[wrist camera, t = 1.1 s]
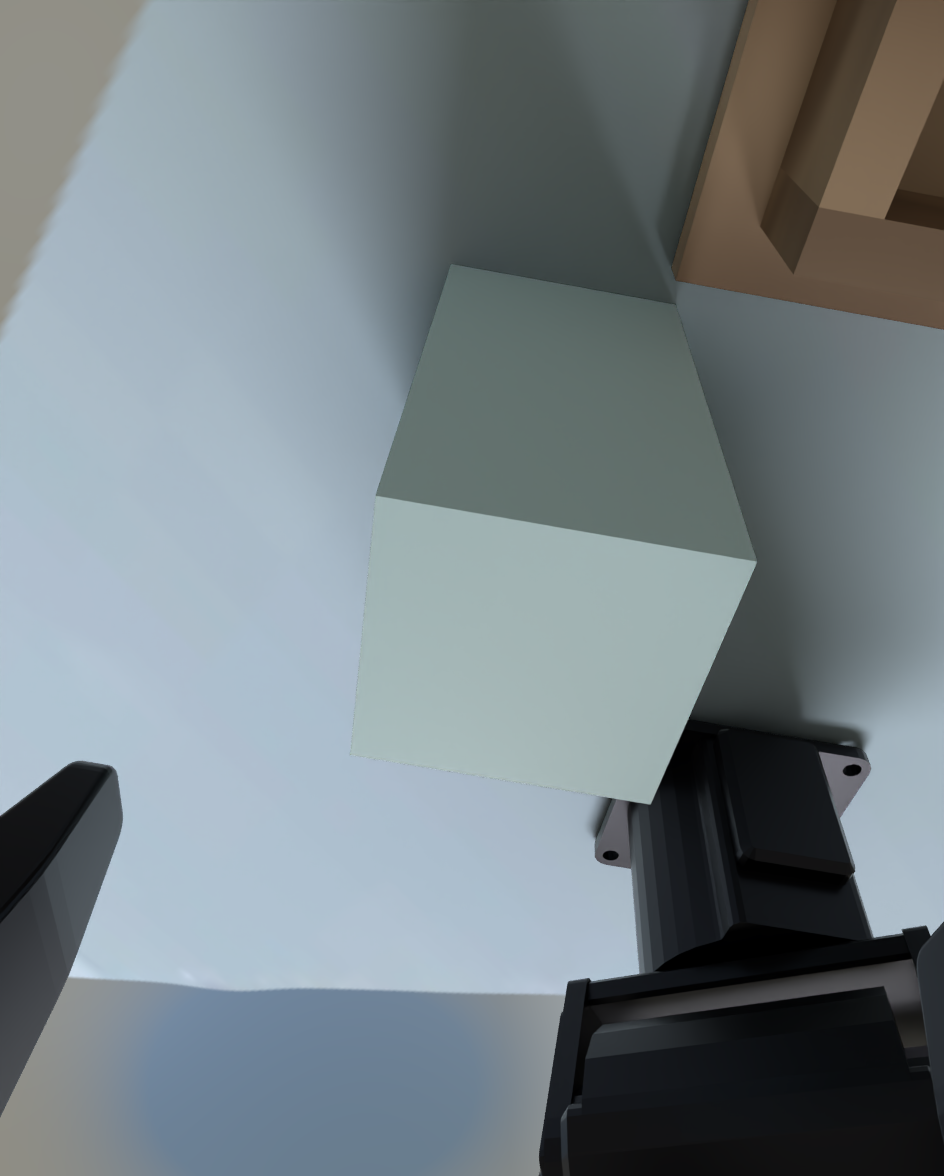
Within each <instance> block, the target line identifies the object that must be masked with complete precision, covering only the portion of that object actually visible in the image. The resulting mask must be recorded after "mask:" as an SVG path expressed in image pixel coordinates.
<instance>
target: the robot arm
mask: <svg viewBox="0 0 944 1176" xmlns="http://www.w3.org/2000/svg"><path fill="white" fill-rule="evenodd" d="M850 764H852V765H850ZM870 770H871V766H870V763H869V760H868V758H867V755H866V753H865V752H864V751H863V750H861V749H858V748H855V747H849V746H843V745H837V744H831V743H825V742H819V741H813V740H807V739H801V738H795V737H789V736H783V735H777V734H771V733H765V732H759V731H753V730H747V729H741V728H735V727H729V726H723V725H717V724H711V723H706V722H700V721H694V720H688V721H687V723H686V725H685V727H684V730H683V732H682V734H681V736H680V739H679V741H678V743H677V746H676V748H675V750H674V752H673V755H672V757H671V759H670V762H669V764H668V766H667V768H666V771H665V773H664V775H663V777H662V780H661V782H660V784H659V787H658V789H657V791H656V793H655V796H654V798H653V800H652V802H651V805H650V804H644V803H638V802H632V801H626V800H620V799H613V798H612V800H611V803H610V805H609V808H608V810H607V813H606V815H605V818H604V820H603V823H602V826H601V828H600V831H599V833H598V836H597V838H596V841H595V858H596V859H597V861H599V862H600V863H603V864H606V865H611V866H618V867H624V868H630V869H631V872H632V884H633V897H634V910H635V923H636V936H637V949H638V961H639V974H637V975H630V976H624V977H617V978H611V979H604V980H598V981H591V980H590V979H589V978H586V979H580V980H573V981H569V982H568V984H567V990H566V997H565V1003H564V1009H563V1012H562V1013H561V1016H560V1023H559V1029H558V1035H557V1042H556V1048H555V1055H554V1061H553V1067H552V1074H551V1081H550V1087H549V1093H548V1099H547V1106H546V1112H545V1119H544V1126H543V1131H542V1138H541V1145H540V1151H539V1162H540V1172H539V1176H944V922H943V923H942V924H941V925H940V927H939V928H938V929H937V930H936V931H935V932H934V933H933V934H932V936H930V933H929V931H928V928H927V926H919V927H913V928H907V929H902V932H903V933H902V934H895V935H889V936H882V937H876V938H874V937H873V934H872V931H871V928H870V925H869V921H868V918H867V915H866V912H865V909H864V905H863V902H862V899H861V896H860V893H859V890H858V886H857V883H856V880H855V877H854V872H855V865H854V862H853V858H852V855H851V852H850V849H849V846H848V843H847V840H846V836H845V833H844V830H843V827H842V824H841V821H840V817H841V816H842V814H843V813H844V811H845V810H846V808H847V807H848V805H849V804H850V802H851V800H852V799H853V797H854V796H855V794H856V793H857V791H858V790H859V788H860V787H861V785H862V784H863V782H864V781H865V779H866V778H867V776H868V775H869V773H870ZM122 822H123V812H122V805H121V797H120V790H119V783H118V776H117V772H116V770H115V769H114V768H113V767H112V766H109V765H104V764H98V763H93V762H87V761H76V762H72V763H70V764H68V765H67V766H65V767H64V768H63V769H61V770H60V771H59V772H58V773H56V774H55V775H54V776H52V777H51V778H50V779H48V780H47V781H46V782H44V783H43V784H42V785H40V786H39V787H38V788H36V789H35V790H34V791H33V792H31V793H30V794H29V795H27V796H26V797H25V798H23V799H22V800H21V801H19V802H18V803H17V804H15V805H14V806H13V807H11V808H10V809H9V810H7V811H6V812H5V813H4V814H2V815H1V816H0V1117H1V1114H2V1112H3V1110H4V1108H5V1106H6V1104H7V1102H8V1100H9V1098H10V1096H11V1094H12V1092H13V1090H14V1088H15V1086H16V1084H17V1082H18V1079H19V1078H20V1076H21V1074H22V1071H23V1069H24V1067H25V1065H26V1063H27V1061H28V1059H29V1057H30V1055H31V1053H32V1051H33V1049H34V1046H35V1045H36V1043H37V1041H38V1038H39V1037H40V1035H41V1033H42V1030H43V1028H44V1026H45V1024H46V1022H47V1020H48V1018H49V1016H50V1014H51V1012H52V1010H53V1008H54V1006H55V1004H56V1002H57V1000H58V997H59V995H60V993H61V991H62V989H63V987H64V985H65V982H66V980H67V978H68V976H69V973H70V971H71V968H72V965H73V963H74V960H75V958H76V955H77V952H78V950H79V947H80V944H81V941H82V938H83V936H84V933H85V930H86V927H87V925H88V922H89V919H90V916H91V914H92V911H93V908H94V905H95V902H96V900H97V897H98V894H99V891H100V889H101V886H102V883H103V880H104V877H105V875H106V872H107V869H108V866H109V864H110V861H111V858H112V855H113V853H114V850H115V847H116V844H117V841H118V839H119V836H120V832H121V828H122Z"/></svg>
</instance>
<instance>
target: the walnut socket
mask: <svg viewBox="0 0 944 1176" xmlns="http://www.w3.org/2000/svg"><path fill="white" fill-rule="evenodd" d="M671 268H672V271H673V274H674V277H675V280H676V281H680V282H686V283H691V284H697V285H702V286H708V287H713V288H719V289H724V290H730V291H735V292H741V293H746V294H752V295H757V296H763V297H768V298H774V299H779V300H784V301H790V302H795V303H801V304H806V305H812V306H817V307H823V308H828V309H834V310H839V311H845V312H850V313H856V314H861V315H867V316H872V317H878V318H883V319H889V320H894V321H900V322H905V323H911V324H916V325H922V326H927V327H933V328H938V329H944V0H749V1H748V4H747V8H746V11H745V15H744V18H743V22H742V25H741V29H740V32H739V36H738V39H737V42H736V46H735V49H734V53H733V56H732V60H731V63H730V67H729V70H728V74H727V77H726V80H725V84H724V87H723V91H722V94H721V98H720V101H719V105H718V108H717V112H716V115H715V119H714V122H713V125H712V129H711V132H710V136H709V139H708V143H707V146H706V150H705V153H704V157H703V160H702V163H701V167H700V170H699V174H698V177H697V181H696V184H695V188H694V191H693V195H692V198H691V202H690V205H689V208H688V212H687V215H686V219H685V222H684V226H683V229H682V233H681V236H680V240H679V243H678V247H677V250H676V253H675V257H674V260H673V264H672V267H671Z"/></svg>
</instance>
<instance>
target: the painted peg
mask: <svg viewBox="0 0 944 1176" xmlns="http://www.w3.org/2000/svg"><path fill="white" fill-rule="evenodd" d="M756 564H757V559H756V556H755V553H754V550H753V547H752V544H751V540H750V537H749V534H748V531H747V528H746V525H745V522H744V518H743V515H742V512H741V509H740V506H739V503H738V499H737V496H736V493H735V490H734V487H733V484H732V481H731V477H730V474H729V471H728V468H727V465H726V462H725V459H724V455H723V452H722V449H721V446H720V443H719V440H718V437H717V433H716V430H715V427H714V424H713V421H712V418H711V415H710V411H709V408H708V405H707V402H706V399H705V396H704V392H703V389H702V386H701V383H700V380H699V377H698V374H697V370H696V367H695V364H694V361H693V358H692V355H691V352H690V348H689V345H688V342H687V339H686V336H685V333H684V330H683V326H682V323H681V320H680V317H679V314H678V311H677V307H676V305H675V304H669V303H664V302H658V301H653V300H647V299H642V298H636V297H631V296H625V295H620V294H614V293H609V292H603V291H598V290H592V289H587V288H581V287H576V286H570V285H565V284H559V283H554V282H548V281H543V280H537V279H532V278H526V277H521V276H515V275H510V274H504V273H499V272H493V271H488V270H482V269H477V268H471V267H465V266H460V265H454V264H451V266H450V269H449V272H448V275H447V278H446V281H445V284H444V287H443V290H442V293H441V296H440V300H439V303H438V306H437V309H436V312H435V315H434V318H433V321H432V324H431V327H430V330H429V333H428V336H427V339H426V342H425V345H424V349H423V352H422V355H421V358H420V361H419V364H418V367H417V370H416V373H415V376H414V379H413V382H412V385H411V388H410V391H409V395H408V398H407V401H406V404H405V407H404V410H403V413H402V416H401V419H400V422H399V425H398V428H397V431H396V434H395V437H394V441H393V444H392V447H391V450H390V453H389V456H388V459H387V462H386V465H385V468H384V471H383V474H382V477H381V480H380V483H379V487H378V490H377V493H376V496H375V506H374V516H373V526H372V536H371V547H370V557H369V567H368V577H367V587H366V598H365V608H364V618H363V628H362V638H361V649H360V659H359V669H358V679H357V689H356V700H355V710H354V720H353V730H352V740H351V750H350V755H352V756H358V757H364V758H370V759H376V760H382V761H388V762H394V763H400V764H407V765H413V766H419V767H425V768H431V769H437V770H443V771H449V772H455V773H461V774H467V775H473V776H480V777H486V778H492V779H498V780H504V781H510V782H516V783H522V784H528V785H534V786H540V787H546V788H553V789H559V790H565V791H571V792H577V793H583V794H589V795H595V796H601V797H607V798H613V799H620V800H626V801H632V802H638V803H644V804H650V805H651V802H652V800H653V798H654V796H655V793H656V791H657V789H658V787H659V784H660V782H661V780H662V777H663V775H664V773H665V771H666V768H667V766H668V764H669V762H670V759H671V757H672V755H673V752H674V750H675V748H676V746H677V743H678V741H679V739H680V736H681V734H682V732H683V730H684V727H685V725H686V723H687V721H688V718H689V716H690V714H691V711H692V709H693V707H694V705H695V702H696V700H697V698H698V696H699V693H700V691H701V689H702V686H703V684H704V682H705V680H706V677H707V675H708V673H709V671H710V668H711V666H712V664H713V661H714V659H715V657H716V655H717V652H718V650H719V648H720V645H721V643H722V641H723V639H724V636H725V634H726V632H727V630H728V627H729V625H730V623H731V620H732V618H733V616H734V614H735V611H736V609H737V607H738V605H739V602H740V600H741V598H742V595H743V593H744V591H745V589H746V586H747V584H748V582H749V580H750V577H751V575H752V573H753V570H754V568H755V566H756Z"/></svg>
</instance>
